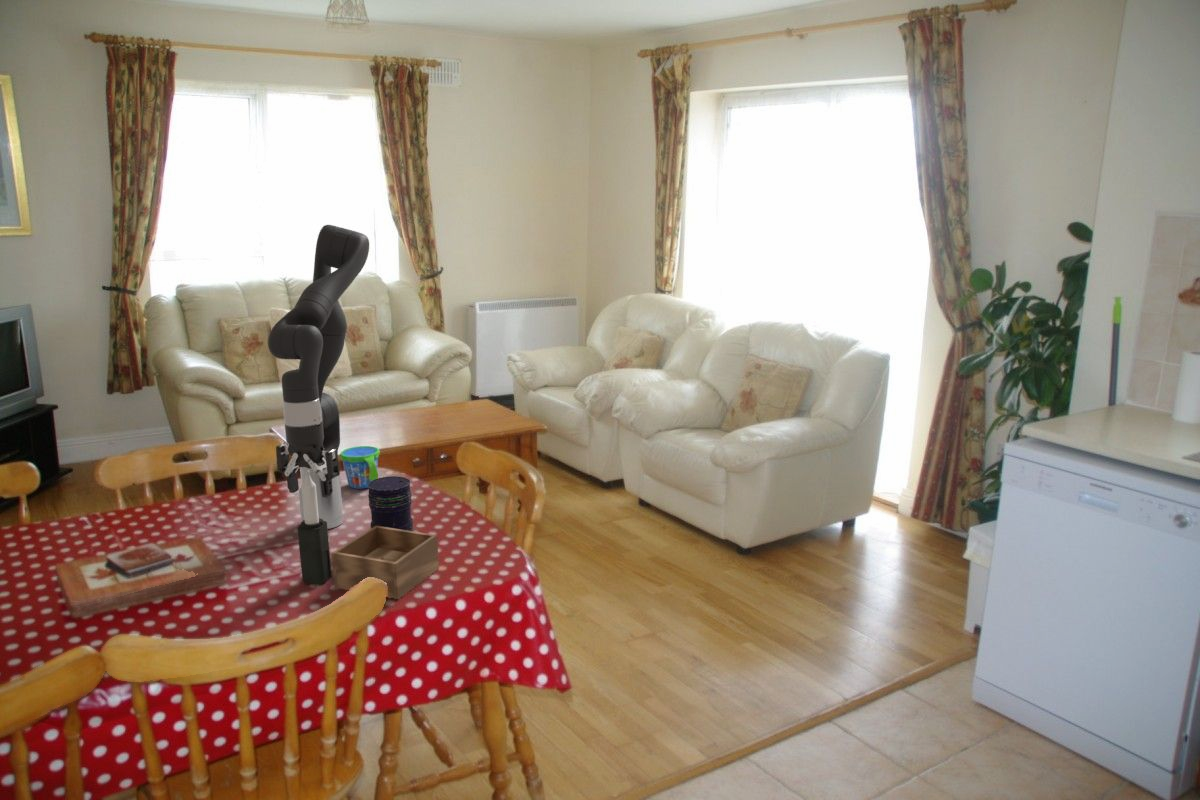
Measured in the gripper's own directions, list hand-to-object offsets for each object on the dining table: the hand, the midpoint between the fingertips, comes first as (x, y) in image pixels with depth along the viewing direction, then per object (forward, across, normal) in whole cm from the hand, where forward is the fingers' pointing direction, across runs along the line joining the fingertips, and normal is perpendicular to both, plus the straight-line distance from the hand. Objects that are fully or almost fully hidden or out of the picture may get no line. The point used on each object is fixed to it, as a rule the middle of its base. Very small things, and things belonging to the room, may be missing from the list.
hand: (310, 493), depth 190 cm
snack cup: (+20, -27, +54) cm, 64 cm away
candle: (+20, 0, 0) cm, 20 cm away
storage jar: (+20, +4, +23) cm, 31 cm away
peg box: (+20, +14, +6) cm, 25 cm away
